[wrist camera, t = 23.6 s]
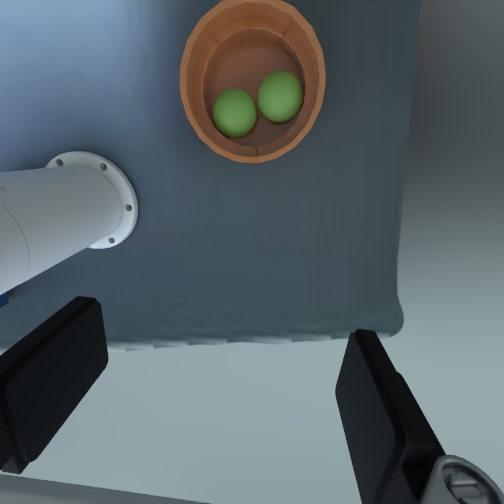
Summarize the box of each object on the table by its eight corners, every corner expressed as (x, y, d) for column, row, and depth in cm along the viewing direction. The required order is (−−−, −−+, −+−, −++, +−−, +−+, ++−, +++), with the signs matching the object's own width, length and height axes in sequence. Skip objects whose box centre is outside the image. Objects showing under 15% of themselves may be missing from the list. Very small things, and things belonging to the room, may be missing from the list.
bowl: (196, 154, 33) (180, 156, 27) (197, 18, 28) (178, -13, 22) (305, 164, 32) (311, 168, 27) (326, 28, 27) (339, -1, 22)
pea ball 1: (240, 107, 32) (207, 127, 31) (237, 69, 27) (199, 92, 26) (265, 132, 30) (232, 153, 30) (266, 97, 26) (227, 121, 25)
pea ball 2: (309, 118, 26) (314, 89, 28) (281, 79, 24) (289, 49, 26) (272, 139, 29) (278, 111, 31) (244, 106, 27) (253, 77, 29)
